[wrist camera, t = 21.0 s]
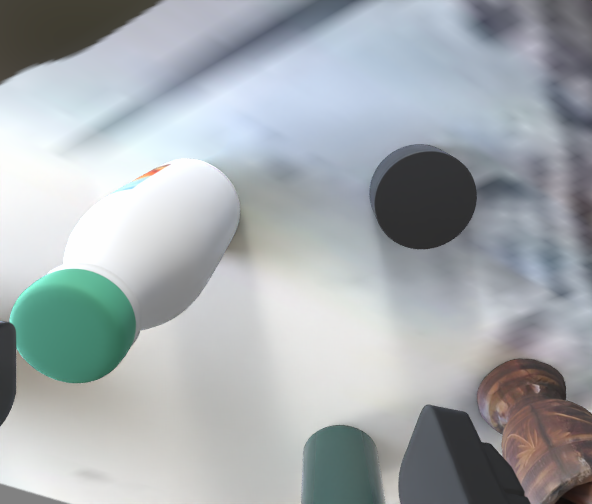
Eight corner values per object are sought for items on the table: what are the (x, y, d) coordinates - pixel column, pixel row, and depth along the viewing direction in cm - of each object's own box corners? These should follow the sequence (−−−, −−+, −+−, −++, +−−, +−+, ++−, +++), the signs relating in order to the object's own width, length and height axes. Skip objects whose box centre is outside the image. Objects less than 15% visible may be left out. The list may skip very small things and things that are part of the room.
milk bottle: (218, 142, 35) (105, 214, 16) (256, 235, 38) (195, 391, 19) (126, 176, 36) (-77, 280, 18) (169, 265, 39) (29, 439, 20)
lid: (374, 141, 35) (380, 147, 32) (470, 147, 35) (485, 154, 31) (364, 231, 37) (369, 246, 34) (454, 237, 37) (466, 252, 34)
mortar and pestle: (463, 326, 40) (595, 548, 21) (571, 310, 39) (810, 528, 20) (473, 436, 43) (591, 709, 25) (571, 424, 42) (772, 698, 24)
